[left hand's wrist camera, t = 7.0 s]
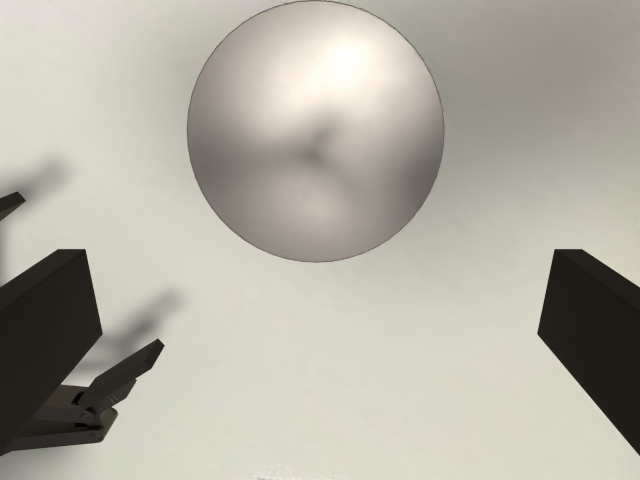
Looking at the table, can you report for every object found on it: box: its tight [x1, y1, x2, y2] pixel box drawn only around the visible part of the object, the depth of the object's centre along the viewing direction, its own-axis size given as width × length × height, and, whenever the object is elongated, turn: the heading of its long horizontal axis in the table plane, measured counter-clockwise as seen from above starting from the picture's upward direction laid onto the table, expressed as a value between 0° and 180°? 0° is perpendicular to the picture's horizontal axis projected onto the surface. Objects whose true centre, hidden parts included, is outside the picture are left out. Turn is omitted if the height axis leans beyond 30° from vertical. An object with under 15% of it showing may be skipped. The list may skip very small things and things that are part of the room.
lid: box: [187, 0, 444, 262], centre depth 20 cm, size 11×11×2 cm
